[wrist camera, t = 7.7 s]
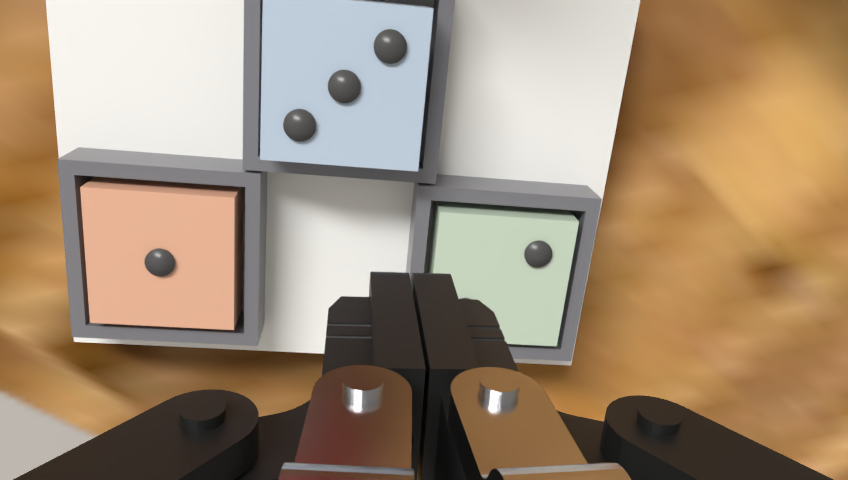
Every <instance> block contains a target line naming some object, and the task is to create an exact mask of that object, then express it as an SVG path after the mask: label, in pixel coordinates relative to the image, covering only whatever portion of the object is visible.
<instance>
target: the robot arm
mask: <svg viewBox="0 0 848 480" xmlns="http://www.w3.org/2000/svg"><path fill="white" fill-rule="evenodd" d="M14 480H833V479H831V478H829V477H827V476H825V475H823V474H821V473H819V472H817V471H815V470H812V469H810V468H808V467H806V466H804V465H802V464H800V463H798V462H796V461H794V460H792V459H790V458H788V457H786V456H784V455H782V454H780V453H777V452H775V451H773V450H771V449H769V448H767V447H765V446H763V445H761V444H759V443H757V442H755V441H753V440H751V439H749V438H747V437H745V436H743V435H740V434H738V433H736V432H734V431H732V430H730V429H728V428H726V427H724V426H722V425H720V424H718V423H716V422H714V421H712V420H710V419H708V418H706V417H703V416H701V415H699V414H697V413H695V412H693V411H691V410H689V409H687V408H685V407H683V406H681V405H678V404H676V403H674V402H671V401H668V400H664V399H660V398H656V397H650V396H627V397H622V398H619V399H617V400H615V401H613V402H612V403H611V404H610V405H609V406H608V407H607V410H606V414H605V420H604V422H602V421H598V420H593V419H588V418H583V417H578V416H573V415H569V414H566V413H563V412H560V411H557V410H556V409H555V407H554V405H553V404H552V402H551V400H550V398H549V397H548V395H547V393H546V392H545V390H544V389H543V387H542V386H541V385H540V384H539V383H538V382H537V381H535V380H534V379H532V378H531V377H529V376H527V375H525V374H522V373H520V372H518V369H517V367H516V364H515V362H514V360H513V357H512V355H511V352H510V350H509V347H508V345H507V342H506V341H505V338H504V335H503V333H502V330H501V329H500V325H499V323H498V320H497V318H496V316H495V313H494V312H493V311H492V310H491V309H489V308H488V307H487V306H486V305H484V304H483V303H482V302H480V301H479V300H474V299H458V295H457V292H456V289H455V286H454V283H453V279H452V276H451V274H442V273H412V274H411V279H410V275H409V273H404V272H370V283H369V297H352V296H341V297H340V298H339V299H338V300H337V301H336V302H335V303H334V304H333V305H332V306H331V307H329V308H328V319H327V329H326V340H325V350H324V361H323V371H322V376H321V377H320V378H319V379H318V380H317V382H316V383H315V385H314V387H313V391H312V395H311V399H310V400H309V401H308V402H306V403H305V404H303V405H301V406H299V407H297V408H295V409H292V410H289V411H286V412H282V413H278V414H273V415H268V416H263V417H258V410H257V407H256V406H255V404H254V403H253V402H252V401H251V400H250V399H248V398H246V397H245V396H243V395H240V394H238V393H234V392H230V391H225V390H200V391H193V392H188V393H184V394H181V395H178V396H175V397H173V398H171V399H169V400H167V401H165V402H163V403H161V404H159V405H157V406H155V407H153V408H151V409H149V410H147V411H145V412H143V413H141V414H139V415H137V416H136V417H134V418H132V419H130V420H128V421H126V422H124V423H122V424H120V425H118V426H116V427H114V428H112V429H110V430H108V431H107V432H105V433H103V434H101V435H99V436H97V437H95V438H93V439H91V440H89V441H87V442H85V443H84V444H81V445H79V446H78V447H76V448H74V449H72V450H70V451H68V452H66V453H64V454H62V455H60V456H58V457H56V458H54V459H52V460H51V461H49V462H47V463H45V464H43V465H41V466H39V467H37V468H35V469H33V470H31V471H29V472H27V473H25V474H23V475H21V476H20V477H18V478H16V479H14Z"/></svg>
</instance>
